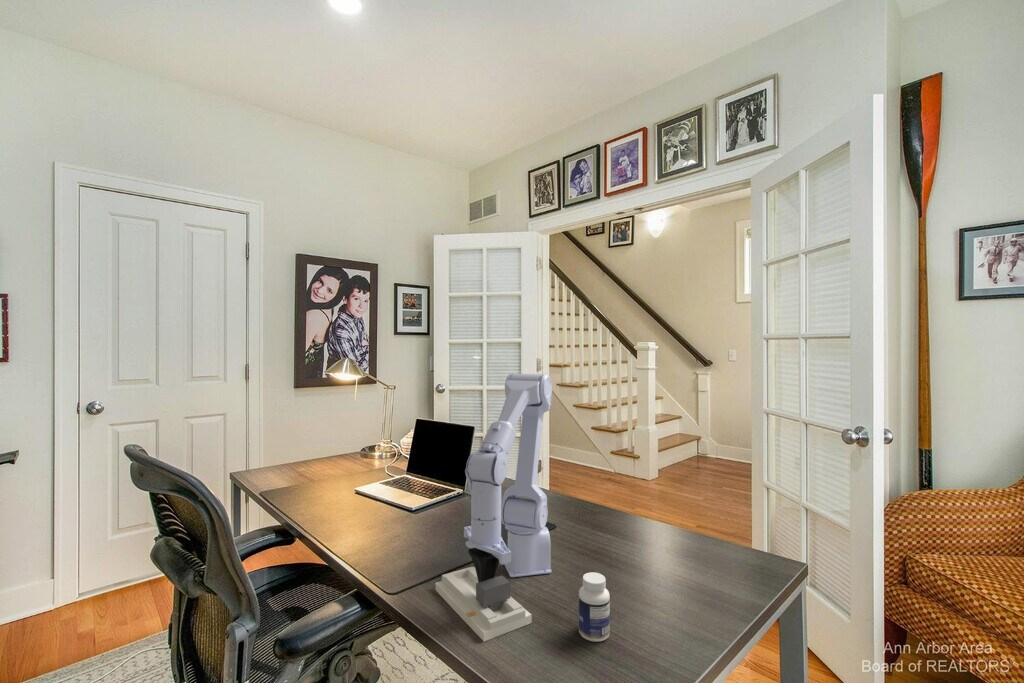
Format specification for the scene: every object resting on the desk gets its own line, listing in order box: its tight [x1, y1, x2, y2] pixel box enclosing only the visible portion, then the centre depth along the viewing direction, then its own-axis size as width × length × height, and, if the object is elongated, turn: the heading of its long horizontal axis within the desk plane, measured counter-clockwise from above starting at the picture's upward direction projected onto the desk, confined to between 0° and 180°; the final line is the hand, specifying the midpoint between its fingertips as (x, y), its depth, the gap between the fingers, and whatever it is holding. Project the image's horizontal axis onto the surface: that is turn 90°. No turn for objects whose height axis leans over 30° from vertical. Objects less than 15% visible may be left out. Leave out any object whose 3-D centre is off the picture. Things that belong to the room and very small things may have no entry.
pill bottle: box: [578, 571, 611, 643], centre depth 82 cm, size 5×5×10 cm
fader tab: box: [476, 575, 511, 611], centre depth 87 cm, size 3×6×5 cm, turn 123°
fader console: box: [435, 565, 533, 642], centre depth 91 cm, size 20×10×3 cm, turn 33°
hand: (485, 587), depth 89 cm, fingers closed
